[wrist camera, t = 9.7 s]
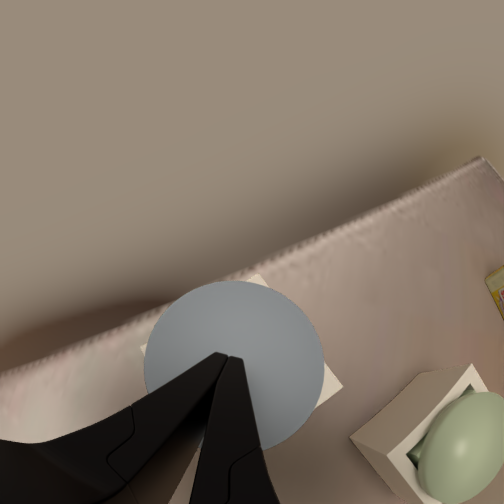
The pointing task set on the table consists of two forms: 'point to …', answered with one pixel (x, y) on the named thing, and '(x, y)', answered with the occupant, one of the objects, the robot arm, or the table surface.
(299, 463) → the table surface
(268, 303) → the slate blue button
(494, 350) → the table surface
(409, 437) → the button housings
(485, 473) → the sage green button
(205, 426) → the robot arm
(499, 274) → the candy box
